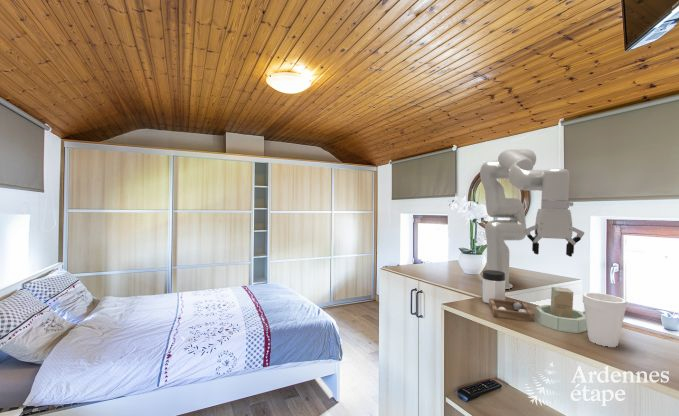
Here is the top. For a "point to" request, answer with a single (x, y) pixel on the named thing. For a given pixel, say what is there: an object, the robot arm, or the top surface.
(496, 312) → the tray
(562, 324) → the bowl
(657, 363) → the top surface
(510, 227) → the robot arm
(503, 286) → the jar
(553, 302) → the box
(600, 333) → the foam cup
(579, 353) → the top surface
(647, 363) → the top surface
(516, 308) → the pebble
